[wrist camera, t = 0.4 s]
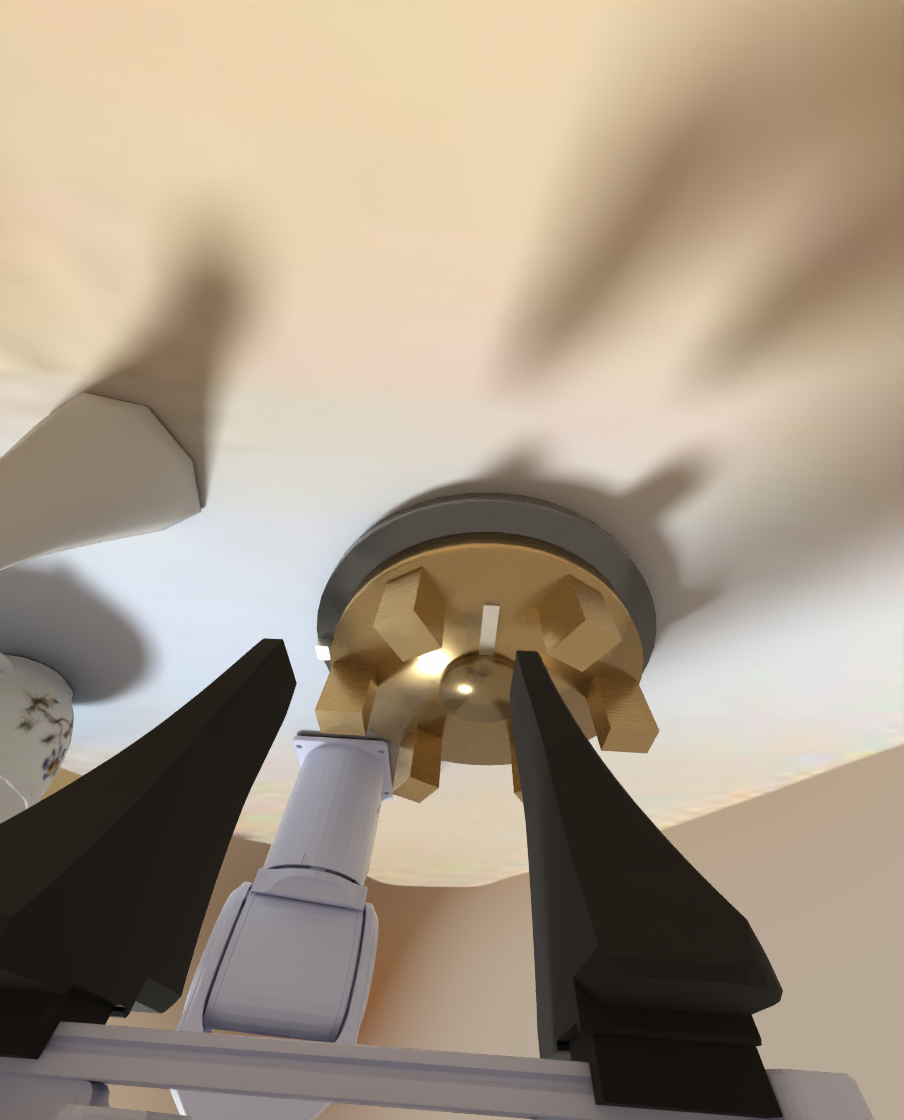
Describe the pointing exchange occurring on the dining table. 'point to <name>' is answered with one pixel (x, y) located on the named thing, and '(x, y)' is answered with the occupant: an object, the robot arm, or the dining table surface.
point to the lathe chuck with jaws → (480, 653)
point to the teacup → (31, 731)
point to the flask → (91, 480)
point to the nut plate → (486, 517)
